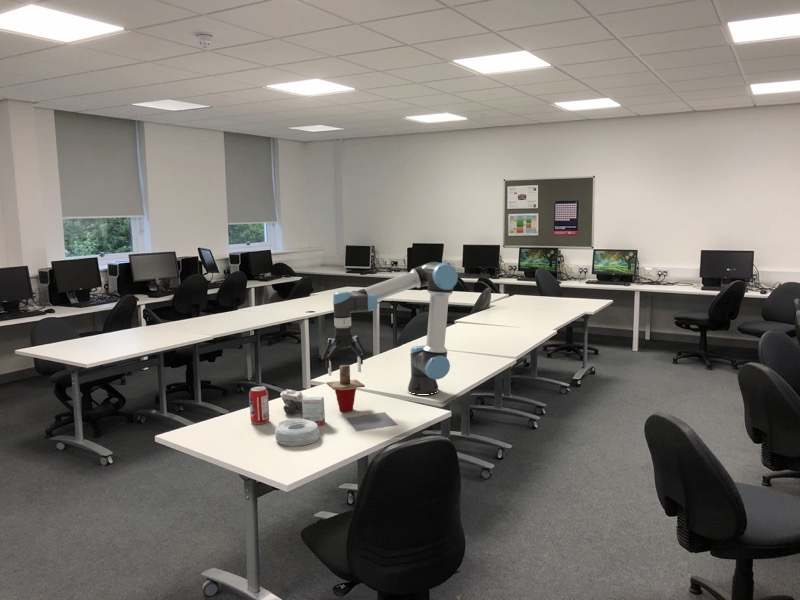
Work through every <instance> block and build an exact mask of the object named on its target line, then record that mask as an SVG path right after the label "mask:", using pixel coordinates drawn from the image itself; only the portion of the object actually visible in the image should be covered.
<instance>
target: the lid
mask: <svg viewBox="0 0 800 600" xmlns="http://www.w3.org/2000/svg"><path fill="white" fill-rule="evenodd" d="M350 367H351V365H350V364H341V365H339V380H337V381H336V380H335V381H326V385H327V386H328V387H329V388H330V389H332V390H334V391H335V390H337V389H348V388H356V389H357V388H365V384H363V383H362V382H361V381H360V380H358V379H351V368H350Z"/></svg>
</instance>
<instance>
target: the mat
mask: <svg viewBox="0 0 800 600" xmlns="http://www.w3.org/2000/svg"><path fill="white" fill-rule="evenodd" d="M345 419H346V420H347V422H348V423H349V424H350V425H351V426H352V427H353V429H354V430H355V431H356V432H361V431H368V430H374V429H375V430H376V429H381V428H382V429H383V428H389V427H395V426H399V424H398V423H397V422H396V421H395V420H393V419H392V418H391V417H390V415H388V414H387V413H386V411H385V412H376V413H369V414H363V415H357V416H355V415H354V416H348V417H345Z"/></svg>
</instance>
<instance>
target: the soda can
mask: <svg viewBox="0 0 800 600" xmlns="http://www.w3.org/2000/svg"><path fill="white" fill-rule="evenodd" d="M248 398H249V399H248V401H249V412H250V413H249V414H250V422H251V423H252V424H254V425H262V424H263V423H264V424H266V423H267V422H269V420H270V406H269V405H270V404H269V391H268V390H267V387H265V386H253V387H252V388H250V391H249V393H248Z"/></svg>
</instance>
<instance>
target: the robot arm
mask: <svg viewBox="0 0 800 600" xmlns="http://www.w3.org/2000/svg"><path fill="white" fill-rule="evenodd" d="M458 279H459V277H458V271H456V268H454V266H453V265H451V264H448V263H446V262H438V261H431V262H428V263H425V264H422V265H420V266H417V267H415V268H412V269H411V270H410V271H409V272H406V273H404V274H401V275H398V276H395V277H393V278H390V279H387V280H384V281H381V282H378V283H375V284H372V285H370V286H367V287H364V288H362V289H359V290H350V291H346V290H345V291H341V290H339V291H335V292H334V293H333V296H332V297H333V298H332V301H333V302H332V303H333V321H334V324H333V325H334V328H333V329H334V338H330V337H328V338H327V343H326V346H325V348H324V349H323V350H324V351H323V352H322V355H321V357H320V358H321V360H322V361H325V368H326V369H327V372H328V373H327V375H328V376H330V377H331V376H332V362H331V358H332V357H333V356H334V355H335V353H336V352H337V350H338V349H340V348H341V349H343V348H348V347H349V348H351V349H352V350H353V351H354V352H355V354H356V355H357V356H356V357H357V358H356V359H357V372H359V373H362V365H363V364H364V357H367V355H368V354H367V352H366V349H365V348H364V347H363V345H362V343H361V341H360V337H359V336H358V335H355V336H353V334H352V333H353V332H352V330H353V329H352V313H362V312H373V311H376V310H377V308H378V301H380V300H382V299H386V298H388V297H390V296H394V295H396V294H400V293H403V292H405V291H407V290H411V289H413V288H417V289H420V288H422V287H427V292H428V293H429V295H430V298H429V309H428V321H427V334H426V344H424V345H416V346H412V347H411V348H410V353H409V355H410V378H409V379H410V380H409V383H408V386H407V392H408V391H409V392H411V393H415V394H431V393H435V392H437V391H438V392H439V385H438V382H437V380H442V379H443V378H445V377H446V376H447V375H448V373H449V372H450V369H451V362H450V360H449V359H448V349H447V348H446V346H445V344H446V335H447V334H446V332H447V322H448V309H449V308H448V307H449V300H450V299H449V298H450V297H451V295H452V294H453V291H454V287H455V286H456V285H457V282H458ZM353 341H354V342H355V343H356V344H357V346H358V348H359V350H360V351H359V350H358V348H356V347H355V345H353V344H352V342H353ZM333 343H334V346H333V347H332V344H333ZM331 347H332V349H331ZM330 349H331V350H330ZM409 392H408V393H409Z"/></svg>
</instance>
